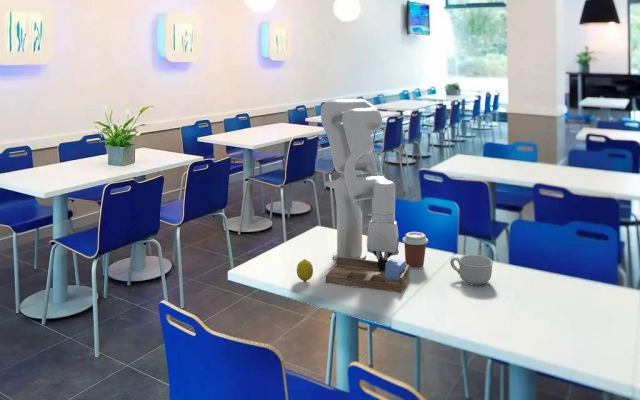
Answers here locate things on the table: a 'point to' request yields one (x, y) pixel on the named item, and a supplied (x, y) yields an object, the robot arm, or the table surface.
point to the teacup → (473, 268)
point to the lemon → (304, 270)
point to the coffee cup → (415, 249)
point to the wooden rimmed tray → (365, 275)
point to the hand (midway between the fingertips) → (382, 269)
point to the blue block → (394, 268)
